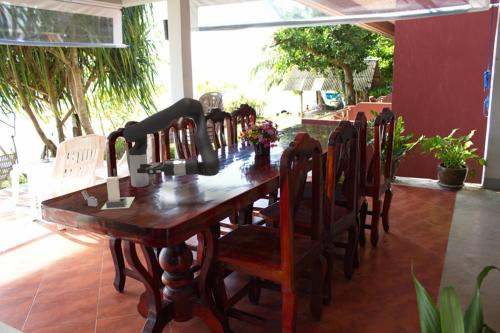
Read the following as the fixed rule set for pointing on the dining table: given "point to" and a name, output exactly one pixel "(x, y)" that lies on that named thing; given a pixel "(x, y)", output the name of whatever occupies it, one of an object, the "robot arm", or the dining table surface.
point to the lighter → (89, 199)
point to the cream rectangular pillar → (113, 188)
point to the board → (119, 203)
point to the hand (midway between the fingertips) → (138, 168)
